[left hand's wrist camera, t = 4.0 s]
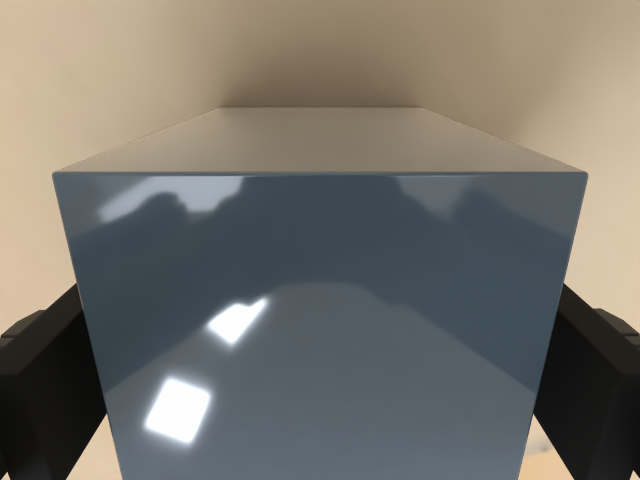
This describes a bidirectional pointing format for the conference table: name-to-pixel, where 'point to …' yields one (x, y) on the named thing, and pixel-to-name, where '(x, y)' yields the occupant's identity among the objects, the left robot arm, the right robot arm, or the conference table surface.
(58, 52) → the conference table surface
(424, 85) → the conference table surface
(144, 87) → the conference table surface
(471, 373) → the block
